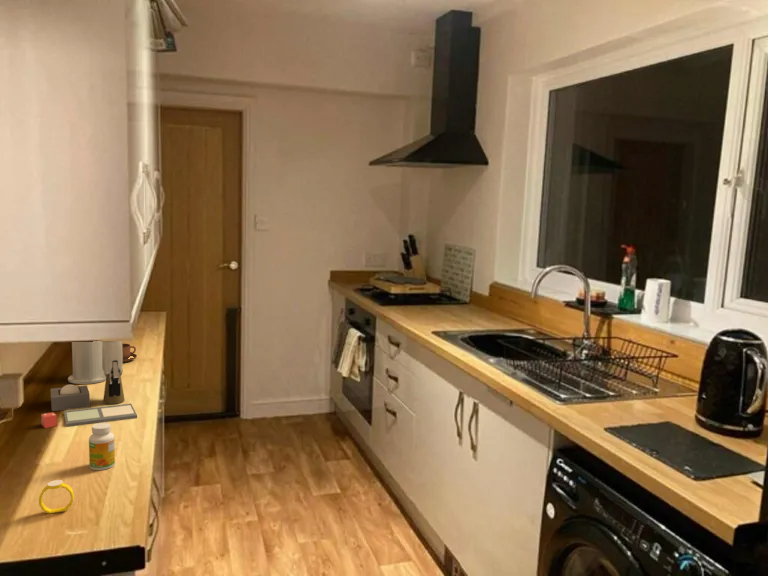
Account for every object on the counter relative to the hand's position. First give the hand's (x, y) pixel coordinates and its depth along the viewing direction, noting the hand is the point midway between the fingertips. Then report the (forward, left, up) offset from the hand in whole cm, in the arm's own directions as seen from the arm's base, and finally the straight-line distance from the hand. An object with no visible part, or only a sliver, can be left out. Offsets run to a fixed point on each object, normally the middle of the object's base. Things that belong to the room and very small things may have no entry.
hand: (113, 393), depth 195 cm
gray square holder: (-2, -12, -3) cm, 12 cm away
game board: (+13, -5, -3) cm, 14 cm away
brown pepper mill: (0, 0, -2) cm, 2 cm away
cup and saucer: (-54, +8, -3) cm, 55 cm away
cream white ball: (-2, -12, -2) cm, 12 cm away
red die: (+16, -18, -3) cm, 24 cm away
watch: (+71, -18, -3) cm, 73 cm away
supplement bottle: (+51, -8, -3) cm, 51 cm away
